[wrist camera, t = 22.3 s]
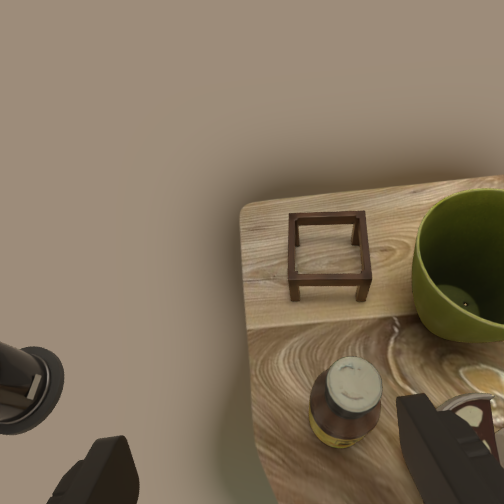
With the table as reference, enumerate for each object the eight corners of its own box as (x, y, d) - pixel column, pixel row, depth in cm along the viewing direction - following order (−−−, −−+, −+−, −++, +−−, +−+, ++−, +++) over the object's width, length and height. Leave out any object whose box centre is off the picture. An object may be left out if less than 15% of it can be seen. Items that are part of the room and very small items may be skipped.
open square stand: (290, 301, 52) (287, 279, 46) (291, 239, 57) (288, 213, 51) (365, 301, 50) (372, 279, 44) (359, 238, 55) (364, 210, 49)
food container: (401, 397, 44) (422, 380, 35) (457, 404, 43) (494, 389, 34) (405, 524, 38) (432, 541, 30) (471, 537, 37) (519, 558, 28)
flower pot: (530, 292, 48) (616, 222, 34) (494, 397, 43) (579, 364, 29) (413, 245, 53) (448, 169, 40) (369, 333, 48) (391, 280, 35)
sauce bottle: (340, 461, 42) (358, 458, 25) (298, 419, 44) (288, 389, 27) (375, 417, 43) (415, 385, 26) (333, 378, 46) (344, 326, 29)
